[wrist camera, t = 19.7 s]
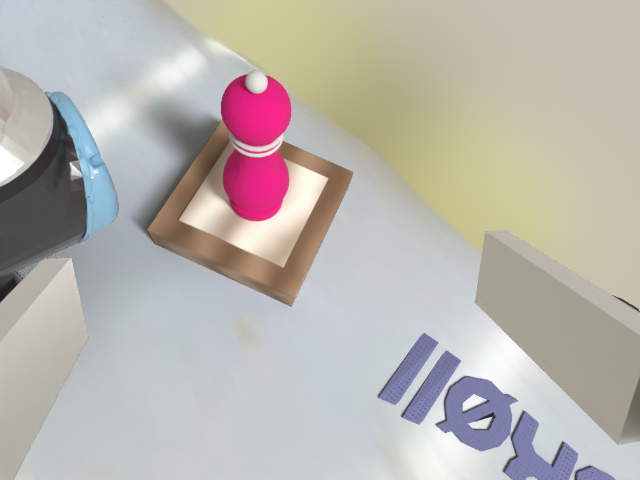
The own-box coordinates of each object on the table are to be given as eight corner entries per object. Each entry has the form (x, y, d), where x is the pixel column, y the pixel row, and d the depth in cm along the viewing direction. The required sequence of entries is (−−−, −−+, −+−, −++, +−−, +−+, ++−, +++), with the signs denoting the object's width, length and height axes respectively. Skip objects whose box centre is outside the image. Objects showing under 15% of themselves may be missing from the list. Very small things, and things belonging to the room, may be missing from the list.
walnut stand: (154, 243, 54) (146, 228, 50) (226, 134, 61) (225, 114, 57) (291, 306, 53) (294, 296, 49) (347, 188, 60) (354, 171, 56)
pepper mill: (228, 229, 51) (213, 114, 33) (222, 174, 54) (204, 40, 36) (291, 222, 52) (310, 108, 34) (281, 169, 55) (294, 37, 37)
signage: (637, 493, 49) (603, 583, 45) (632, 492, 50) (598, 581, 46) (426, 328, 54) (379, 397, 50) (424, 329, 54) (377, 397, 50)
